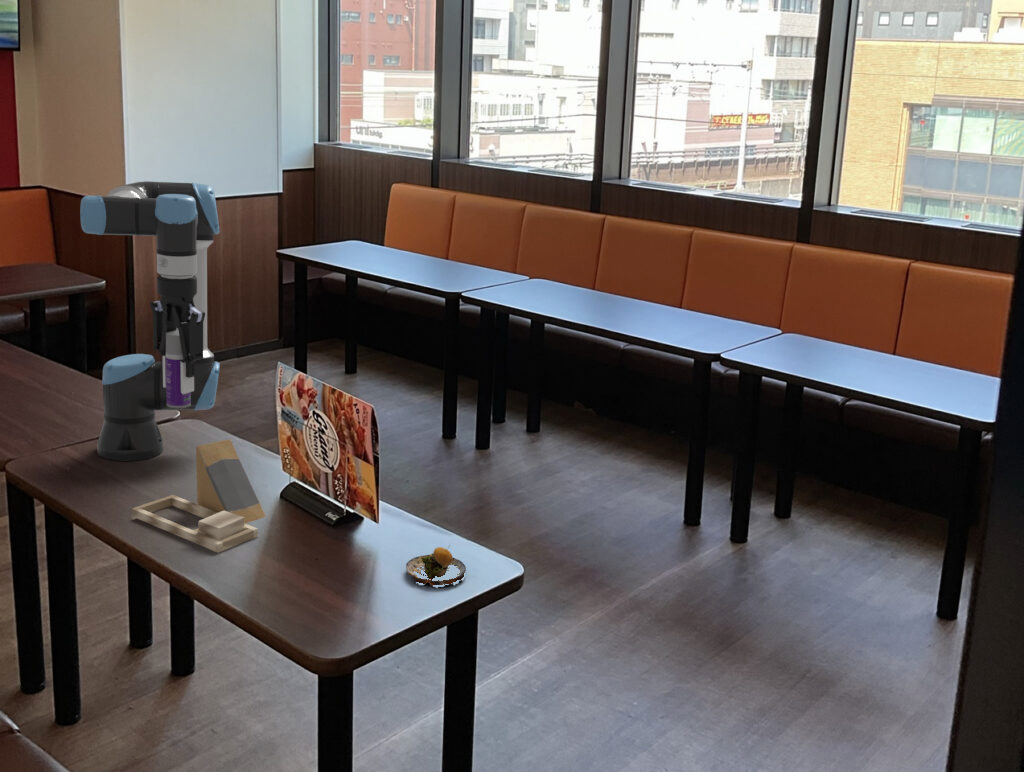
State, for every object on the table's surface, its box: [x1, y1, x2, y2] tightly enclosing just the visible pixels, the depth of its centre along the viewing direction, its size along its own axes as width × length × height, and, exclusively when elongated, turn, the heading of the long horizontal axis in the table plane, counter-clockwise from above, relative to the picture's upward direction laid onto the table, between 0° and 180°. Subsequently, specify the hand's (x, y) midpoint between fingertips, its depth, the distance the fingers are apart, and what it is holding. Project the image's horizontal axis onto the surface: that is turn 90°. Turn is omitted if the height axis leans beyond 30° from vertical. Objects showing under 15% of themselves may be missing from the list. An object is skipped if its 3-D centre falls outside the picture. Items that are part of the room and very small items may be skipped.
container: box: [166, 330, 191, 408], centre depth 216 cm, size 5×5×15 cm
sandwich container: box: [195, 438, 267, 524], centre depth 227 cm, size 9×15×15 cm, turn 47°
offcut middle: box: [199, 527, 245, 541], centre depth 215 cm, size 6×7×2 cm
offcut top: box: [197, 511, 244, 538], centre depth 215 cm, size 6×7×2 cm
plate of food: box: [406, 544, 467, 587], centre depth 209 cm, size 12×12×8 cm
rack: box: [131, 494, 259, 554], centre depth 220 cm, size 26×10×3 cm, turn 56°
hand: (178, 388), depth 217 cm, fingers closed on container, 5 cm apart
